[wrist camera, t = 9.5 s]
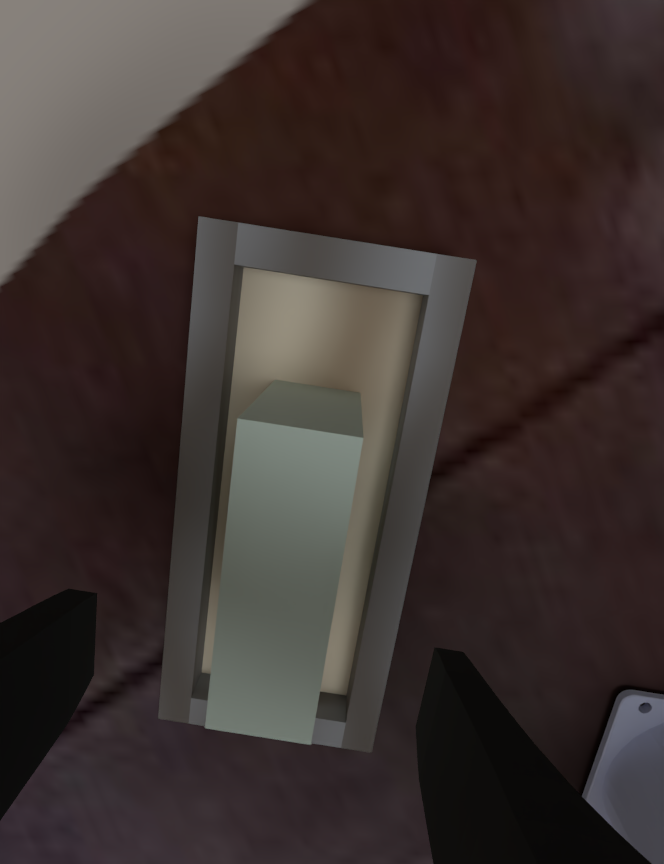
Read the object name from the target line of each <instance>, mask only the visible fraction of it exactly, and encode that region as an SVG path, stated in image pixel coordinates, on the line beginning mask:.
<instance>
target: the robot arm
mask: <svg viewBox="0 0 664 864" xmlns="http://www.w3.org/2000/svg"><path fill="white" fill-rule="evenodd" d="M96 606H97V593H92V592H85V591H79V590H73V589H67V590H65V591H63V592H60V593H58V594H56V595H54V596H52V597H50V598H48V599H46V600H44V601H42V602H40V603H38V604H36V605H34V606H32V607H31V608H29V609H27V610H25V611H23V612H21V613H19V614H17V615H15V616H13V617H11V618H9V619H7V620H5V621H3V622H1V623H0V820H1V819H2V817H3V816H4V814H5V813H6V811H7V810H8V809H9V807H10V806H11V804H12V803H13V801H14V800H15V799H16V797H17V796H18V794H19V793H20V791H21V790H22V789H23V787H24V786H25V784H26V783H27V781H28V780H29V779H30V777H31V776H32V774H33V773H34V771H35V770H36V769H37V767H38V766H39V764H40V763H41V761H42V760H43V759H44V757H45V756H46V754H47V753H48V751H49V750H50V748H51V747H52V746H53V744H54V743H55V741H56V740H57V738H58V737H59V735H60V734H61V732H62V731H63V729H64V728H65V727H66V725H67V724H68V722H69V720H70V718H71V717H72V715H73V713H74V711H75V709H76V708H77V706H78V704H79V702H80V700H81V698H82V696H83V695H84V693H85V691H86V689H87V687H88V685H89V683H90V681H91V679H92V677H93V675H94V655H95V630H96ZM642 703H645V704H644V705H642V706H640V704H642ZM416 739H417V757H418V771H419V782H420V788H421V794H422V800H423V806H424V812H425V818H426V824H427V829H428V835H429V841H430V846H431V852H432V858H433V863H434V864H664V695H663V694H657V693H650V692H644V691H638V690H624V691H622V692H621V693H619V695H618V696H617V698H616V701H615V703H614V706H613V709H612V712H611V715H610V718H609V720H608V723H607V726H606V729H605V732H604V735H603V737H602V740H601V743H600V746H599V749H598V752H597V754H596V757H595V760H594V763H593V766H592V769H591V771H590V774H589V777H588V780H587V783H586V786H585V788H584V791H583V794H582V796H581V795H580V794H579V793H578V792H577V791H576V790H575V789H574V788H573V787H572V786H571V785H570V783H569V782H568V781H567V780H566V779H565V778H564V777H563V776H562V775H561V773H560V772H559V771H558V770H557V769H556V768H555V767H554V766H553V764H552V763H551V762H550V761H549V760H548V759H547V758H546V756H545V755H544V754H543V753H542V752H541V751H540V750H539V748H538V747H537V746H536V745H535V744H534V742H533V741H532V740H531V739H530V738H529V737H528V735H527V734H526V733H525V732H524V730H523V729H522V728H521V727H520V725H519V724H518V723H517V722H516V720H515V719H514V718H513V717H512V715H511V714H510V713H509V712H508V710H507V709H506V708H505V706H504V705H503V704H502V703H501V701H500V700H499V699H498V697H497V696H496V695H495V693H494V692H493V691H492V689H491V688H490V687H489V685H488V684H487V683H486V681H485V680H484V679H483V677H482V676H481V675H480V673H479V672H478V671H477V669H476V668H475V667H474V665H473V664H472V663H471V661H470V660H469V659H468V657H467V656H466V655H465V653H464V652H459V651H453V650H447V649H441V648H434V653H433V657H432V661H431V665H430V669H429V674H428V678H427V682H426V686H425V691H424V695H423V699H422V703H421V707H420V712H419V716H418V720H417V724H416Z"/></svg>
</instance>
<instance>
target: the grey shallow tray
mask: <svg viewBox="0 0 664 864" xmlns="http://www.w3.org/2000/svg"><path fill="white" fill-rule="evenodd" d="M476 262H477V260H472V259H466V258H459V257H453V256H447V255H440V254H434V253H428V252H421V251H415V250H409V249H402V248H396V247H390V246H383V245H377V244H371V243H364V242H358V241H352V240H345V239H339V238H333V237H326V236H320V235H314V234H307V233H301V232H295V231H288V230H282V229H276V228H269V227H263V226H257V225H250V224H244V223H238V222H231V221H225V220H219V219H212V218H206V217H200V216H199V217H198V230H197V242H196V255H195V267H194V279H193V292H192V304H191V317H190V329H189V341H188V354H187V366H186V379H185V391H184V404H183V416H182V428H181V441H180V453H179V466H178V478H177V490H176V503H175V515H174V528H173V540H172V552H171V565H170V577H169V590H168V602H167V615H166V627H165V639H164V652H163V664H162V677H161V689H160V701H159V714H158V719H164V720H170V721H176V722H182V723H189V724H195V725H201V726H205V722H206V713H207V703H208V694H209V684H210V675H211V665H212V656H213V646H214V637H215V627H216V618H217V608H218V599H219V589H220V580H221V570H222V561H223V551H224V542H225V532H226V523H227V513H228V504H229V494H230V485H231V475H232V466H233V456H234V447H235V437H236V428H237V418H238V417H239V416H240V415H241V414H242V413H243V412H244V411H245V410H246V409H247V408H248V407H249V406H250V405H251V404H252V403H253V402H254V401H255V400H256V399H257V398H258V397H259V396H260V395H261V394H262V393H263V392H264V391H265V390H266V389H267V388H268V387H269V386H270V385H271V383H272V382H273V381H274V380H281V381H287V382H294V383H300V384H307V385H313V386H320V387H326V388H333V389H339V390H345V391H352V392H358V393H361V408H362V423H363V444H362V449H361V455H360V461H359V467H358V473H357V479H356V484H355V490H354V496H353V502H352V508H351V514H350V519H349V525H348V531H347V537H346V543H345V549H344V554H343V560H342V566H341V572H340V578H339V584H338V589H337V595H336V601H335V607H334V613H333V619H332V624H331V630H330V636H329V642H328V648H327V654H326V659H325V665H324V671H323V677H322V683H321V689H320V695H319V700H318V706H317V712H316V718H315V724H314V730H313V735H312V741H311V743H314V744H320V745H326V746H332V747H338V748H345V749H351V750H357V751H363V752H370V753H372V748H373V743H374V739H375V734H376V729H377V725H378V720H379V715H380V711H381V706H382V701H383V697H384V692H385V687H386V683H387V678H388V673H389V669H390V664H391V659H392V655H393V650H394V645H395V641H396V636H397V631H398V627H399V622H400V617H401V613H402V608H403V603H404V598H405V594H406V589H407V584H408V580H409V575H410V570H411V566H412V561H413V556H414V552H415V547H416V542H417V538H418V533H419V528H420V524H421V519H422V514H423V510H424V505H425V500H426V496H427V491H428V486H429V482H430V477H431V472H432V468H433V463H434V458H435V454H436V449H437V444H438V440H439V435H440V430H441V425H442V421H443V416H444V411H445V407H446V402H447V397H448V393H449V388H450V383H451V379H452V374H453V369H454V365H455V360H456V355H457V351H458V346H459V341H460V337H461V332H462V327H463V323H464V318H465V313H466V309H467V304H468V299H469V295H470V290H471V285H472V281H473V276H474V271H475V267H476Z"/></svg>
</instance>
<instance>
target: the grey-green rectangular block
mask: <svg viewBox="0 0 664 864" xmlns="http://www.w3.org/2000/svg"><path fill="white" fill-rule="evenodd" d="M362 444H363V423H362V408H361V393H358V392H352V391H345V390H339V389H333V388H326V387H320V386H313V385H307V384H300V383H294V382H287V381H281V380H274V381H273V382H272V383H271V385H270V386H269V387H268V388H267V389H266V390H265V391H264V392H263V393H262V394H261V395H260V396H259V397H258V398H257V399H256V400H255V401H254V402H253V403H252V404H251V405H250V406H249V407H248V408H247V409H246V410H245V411H244V412H243V413H242V414H241V415H240V416H239V417H238V418H237V428H236V437H235V447H234V456H233V466H232V475H231V485H230V494H229V504H228V513H227V523H226V532H225V542H224V551H223V561H222V570H221V580H220V589H219V599H218V608H217V618H216V627H215V637H214V646H213V656H212V665H211V675H210V684H209V694H208V703H207V713H206V722H205V728H207V729H213V730H219V731H226V732H232V733H238V734H245V735H251V736H257V737H264V738H270V739H277V740H283V741H289V742H296V743H302V744H308V745H311V741H312V735H313V730H314V724H315V718H316V712H317V706H318V700H319V695H320V689H321V683H322V677H323V671H324V665H325V659H326V654H327V648H328V642H329V636H330V630H331V624H332V619H333V613H334V607H335V601H336V595H337V589H338V584H339V578H340V572H341V566H342V560H343V554H344V549H345V543H346V537H347V531H348V525H349V519H350V514H351V508H352V502H353V496H354V490H355V484H356V479H357V473H358V467H359V461H360V455H361V449H362Z"/></svg>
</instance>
